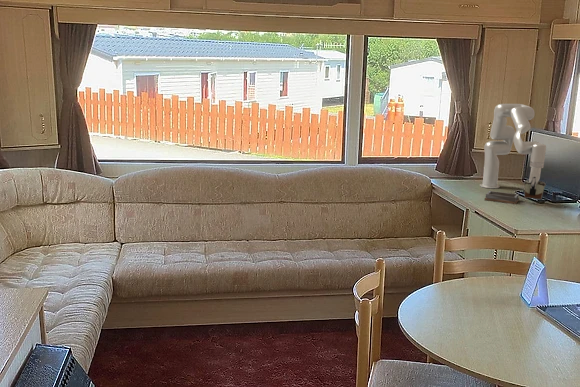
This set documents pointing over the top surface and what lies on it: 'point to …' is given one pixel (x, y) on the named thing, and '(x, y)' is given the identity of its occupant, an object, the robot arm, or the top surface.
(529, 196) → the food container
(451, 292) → the top surface
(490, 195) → the cradle
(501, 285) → the top surface
